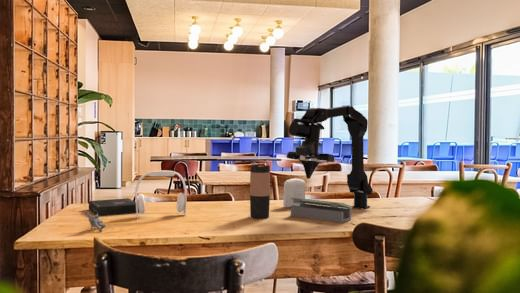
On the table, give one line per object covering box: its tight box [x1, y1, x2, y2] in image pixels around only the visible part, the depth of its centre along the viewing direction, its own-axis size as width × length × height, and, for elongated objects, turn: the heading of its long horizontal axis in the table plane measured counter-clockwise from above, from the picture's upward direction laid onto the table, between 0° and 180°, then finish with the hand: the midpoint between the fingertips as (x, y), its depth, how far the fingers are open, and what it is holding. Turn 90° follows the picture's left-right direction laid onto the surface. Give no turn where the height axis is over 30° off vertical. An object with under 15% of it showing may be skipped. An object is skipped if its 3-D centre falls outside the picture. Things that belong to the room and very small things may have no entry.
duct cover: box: [291, 197, 353, 210], centre depth 184 cm, size 9×22×2 cm, turn 55°
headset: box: [134, 169, 188, 220], centre depth 184 cm, size 20×7×18 cm, turn 108°
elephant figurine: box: [83, 210, 107, 233], centre depth 160 cm, size 10×6×9 cm
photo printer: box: [283, 177, 306, 208], centre depth 209 cm, size 10×4×12 cm, turn 123°
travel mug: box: [249, 164, 271, 220], centre depth 184 cm, size 8×8×20 cm
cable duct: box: [290, 203, 352, 224], centre depth 185 cm, size 8×22×4 cm, turn 55°
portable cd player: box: [88, 197, 140, 217], centre depth 195 cm, size 16×17×4 cm
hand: (308, 178), depth 188 cm, fingers closed
